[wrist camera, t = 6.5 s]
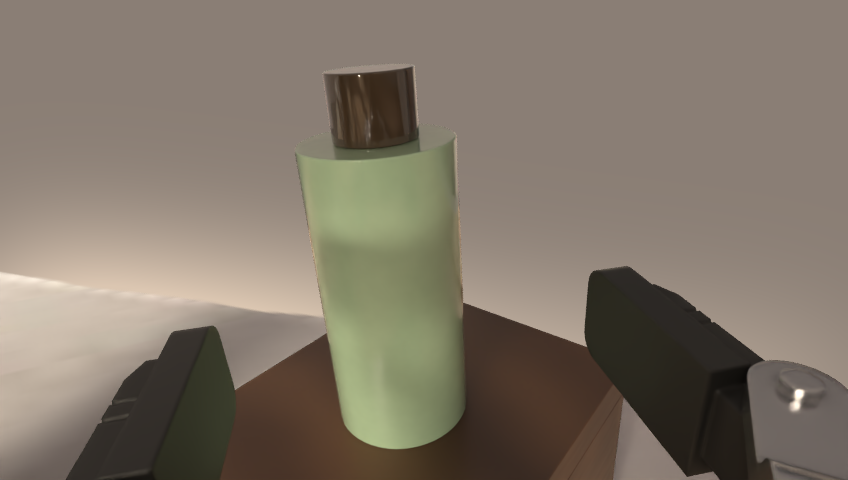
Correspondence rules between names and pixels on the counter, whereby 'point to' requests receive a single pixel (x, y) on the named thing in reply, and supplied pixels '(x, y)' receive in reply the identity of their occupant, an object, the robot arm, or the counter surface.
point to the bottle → (387, 257)
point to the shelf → (465, 443)
